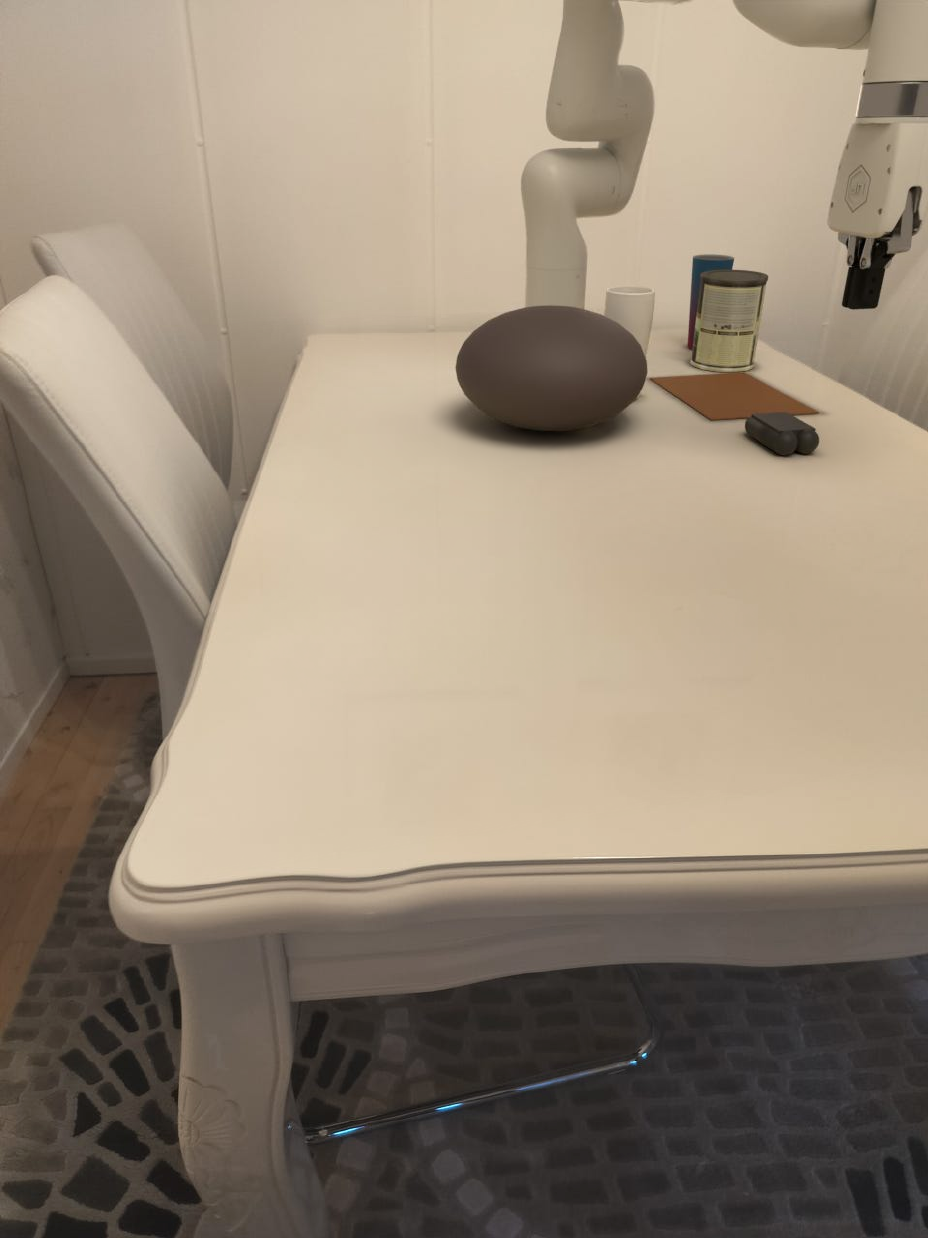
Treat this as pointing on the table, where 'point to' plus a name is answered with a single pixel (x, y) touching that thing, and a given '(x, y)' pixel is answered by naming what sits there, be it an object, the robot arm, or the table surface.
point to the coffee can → (728, 320)
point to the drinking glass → (632, 311)
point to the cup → (699, 266)
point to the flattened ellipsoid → (551, 368)
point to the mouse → (782, 432)
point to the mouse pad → (730, 396)
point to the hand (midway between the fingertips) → (859, 307)
